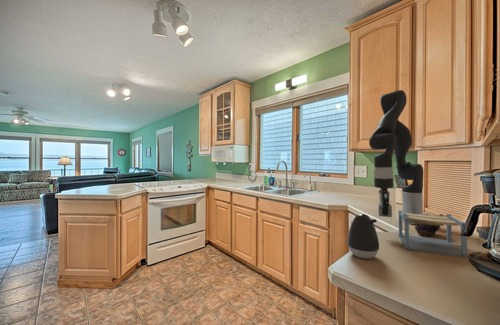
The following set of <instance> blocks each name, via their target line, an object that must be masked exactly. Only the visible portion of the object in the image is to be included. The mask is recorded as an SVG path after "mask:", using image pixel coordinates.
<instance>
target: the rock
mask: <svg viewBox="0 0 500 325" xmlns="http://www.w3.org/2000/svg"><path fill="white" fill-rule="evenodd" d="M424 214H425V215H430V214H429V213H424ZM414 229H415V230H416V232H417V234H419V235H421V236H423V237H426V236H435V234H436V232H438V231H439V230H440V229H441V226H437V225H427V224H416V225H415V226H414Z"/></svg>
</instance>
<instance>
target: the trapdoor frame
mask: <svg viewBox="0 0 500 325" xmlns="http://www.w3.org/2000/svg"><path fill="white" fill-rule="evenodd" d="M397 214H398V238H399V240H400V241H401V243H402V245H403V247H404V248H405V250H408V251H414V252H415V251H417V252H423V253H430V254H438V255H443V256H451V257H460V258H465V257H466V259H469V254H468V238H467V237H468V236H461V235H460V247H459V246H457V245H456V244H455V243H454V242H453V240H452V225H446V239H442V238H432V237H426V236H414V235H410V224H409V218H408V217H406V216H405V215H404V214H403V213H402V210H398V213H397ZM445 216H446V217H449V218H450V219H451V220H453V221H455V222H457V223H458V226H460V234H461V233H462V231H463V228H464V226H465V230H464V232H466V233H468V231H467V230H468V228H467V222H466V221H465V222H464V221H461V220H459V219H457V218H455V217H454V216H452V214H449V213H447V214H446V215H445ZM403 220H404V222H403ZM403 223H404V234H403ZM465 224H466V225H465Z"/></svg>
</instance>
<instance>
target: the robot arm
mask: <svg viewBox="0 0 500 325" xmlns="http://www.w3.org/2000/svg"><path fill="white" fill-rule="evenodd" d="M407 100H408V99H407V94H406V92H405V91H404V90H402V89H399V90H394V91H392V92H391V91H390V92H388V93H385V94H383V95H381V96H380V99H379V102H380V107H381V110H382V112H383V113H382V114H383V116H382V117H381V119H380V120H379V123H378V127H377V128H376V129H375V130H374V132H372V134H371V135H370V137H369V140H368V145H369V148H371V149H372V150H374V151H375V150H376V151H377V150H385V151H384V152H383V153H380V154H376V155H375V156H374V158H373V160H374V161H373V162H374V164H373V165H374V170H373V174H374V176H373V182H374V185H373V186H374V187H375V188H377V189H379V190H378V198H379V203H382V214H383V215H384V216H388V207H389V204H390V195H391V194H390V191H388V189H393V188H394V171H393V157H394V156H395V160H396V161H395V162H396V166H397V168H396V169H397V173H398V177H399V178H400V180H404V181H405V180H406V181H412V182H411V183H410V184H408V185H404V186H402V187H401V194H402V195H401V197H402V198H401V203H402V205H401V206H402V208H401V211H402V213H403V214H405V213H412V214H424V212H423V211H424V210H423V209H424V207H423V205H424V203H423V200H424V199H423V197H424V196H423V189H424V167H423V165H422V164H420V163H407V160H406V159H407V158H406V157H407V154H408V152H409V150H410V148H411V146H412V143H413V139H412V135H411V130H410V129H409V127H407V125H406V124H404V123H403V122H402V121H401V120H399V118H400V117H401V114H402V113H403V111H404V109H405V107H406V106H407ZM393 155H394V156H393ZM402 223H405V222H404V220H403V219H402ZM411 224H412V225H417V224H416V223H409V225H411Z"/></svg>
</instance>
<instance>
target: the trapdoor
mask: <svg viewBox="0 0 500 325" xmlns="http://www.w3.org/2000/svg"><path fill="white" fill-rule="evenodd" d="M425 214H426V213H423V214H412V213H405V214H404V215H405V216H406V217H408V218H409V223H416V224H415V225H417V224H427V225H437V226H440V227H444V226H447V225H451V226H455V227H458V226H459V225H458V223H457V222H455V221H453V220H451V219H450V218H449V217H446V215H436V214H435V215H434V214H429V215H425Z"/></svg>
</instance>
